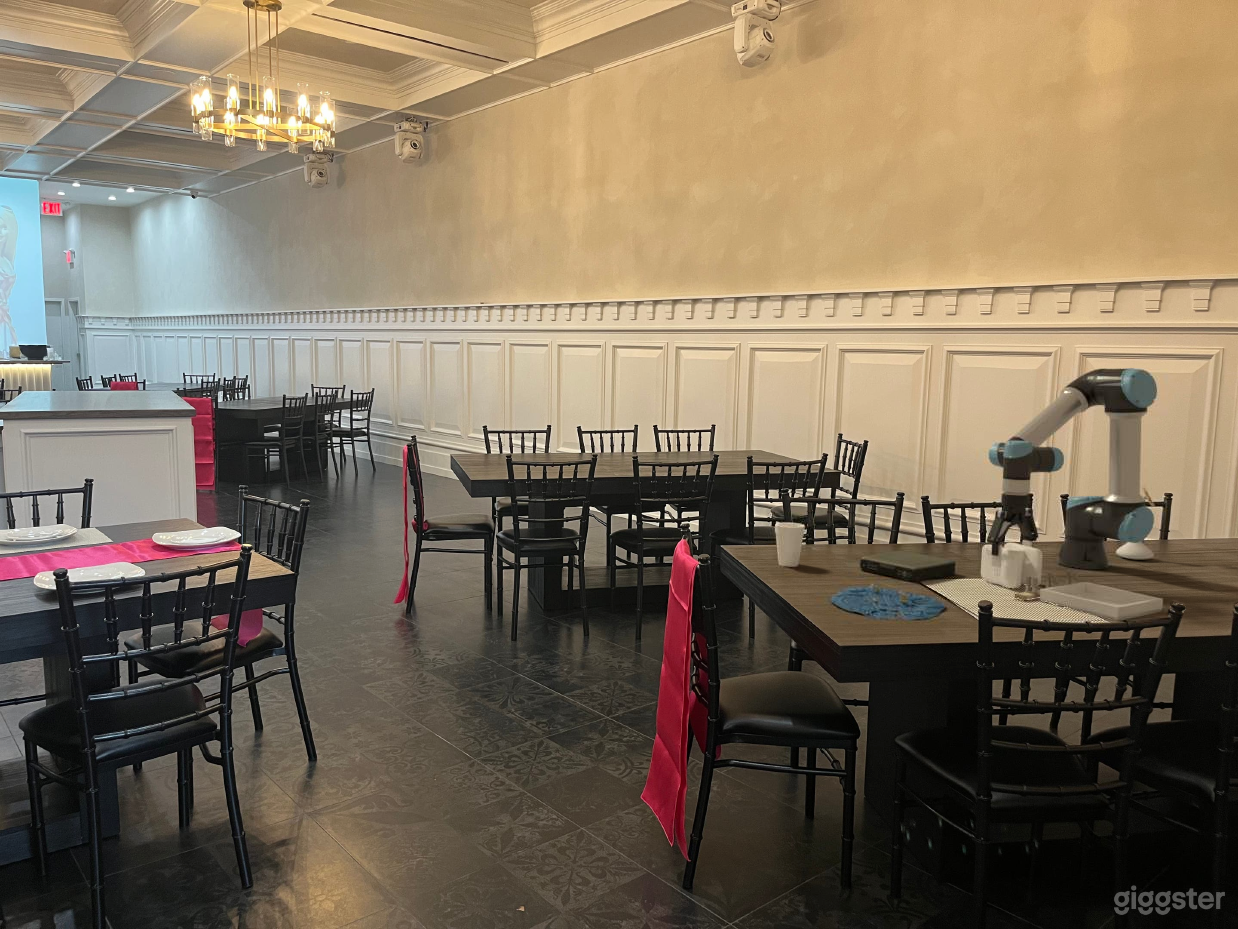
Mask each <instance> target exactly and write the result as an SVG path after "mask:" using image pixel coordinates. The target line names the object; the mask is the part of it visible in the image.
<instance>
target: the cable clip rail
mask: <svg viewBox="0 0 1238 929" xmlns="http://www.w3.org/2000/svg"><path fill="white" fill-rule="evenodd" d="M1052 573H1053V572H1052ZM1052 573H1051V572H1048V573H1046V579H1045V580H1046V584H1045V587H1044V588H1050V587H1056V586H1059V584H1058V583H1059V574H1057V573H1056V574H1053V575H1052ZM1078 576H1079V571H1072V570H1071V569H1067V570H1066V576H1065V584H1064V585H1068V584H1075V583H1078V578H1079V577H1078ZM1037 583H1038V578H1033V583H1032V587H1031V576H1026V585H1025V590H1024V592H1018V593H1014V599H1015V598H1019V599H1022V600H1027V599H1031V598H1037V597H1040V589H1038V586H1037Z"/></svg>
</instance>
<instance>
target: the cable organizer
mask: <svg viewBox="0 0 1238 929" xmlns="http://www.w3.org/2000/svg"><path fill="white" fill-rule="evenodd" d="M991 552H992V544H985V545H983V546H982V549H981V562H980V564H981V567H980V576H981V578H982V579H983V581H986V580H987V581H990V582H992V583H996V584H995V585H998V584H999V585H1000V586H1001V585H1002V586H1006V587H1008V588H1012V589H1019V588H1020V587H1021V584H1023V583H1024V584H1026V576H1031V586H1032V583H1033V578H1038V583H1037V587H1038V586H1039V585H1041V583H1042V570H1043V553H1042V551H1041V550H1040V549H1039V548H1035V547H1033V546H1032V547H1028V546H1024V545H1023V544H1020V543H1016V542H1006V543H1005V544H1004V546H1002V558H1001V567H996V566H991V564H992V554H991ZM987 581H986V582H987ZM1024 584H1023V585H1024Z"/></svg>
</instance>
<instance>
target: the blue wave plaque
mask: <svg viewBox="0 0 1238 929" xmlns="http://www.w3.org/2000/svg"><path fill="white" fill-rule="evenodd" d="M829 600H830V602H831V603H832V604H833V605H835V606H836V607H838V608H840V609H843V610H845V611H848V612H852V613H853V612H854V613H855V612H856V613H859V614H862V615H863V616H865V617H867V618H870V619H879V620H880V619H881V620H887V621H888V620H889V619H890V620H895V621H897V620H904V621H905V620H907V621H913V620H924V619H925V620H928V619H932V618H933V617H939V616H940V615H941V614H942V613H941V611H943V610H944V609H945V607H946V605H945V604H944V603H943V602H941V601H939V600H938V599H937V598H931V597H929V596H927V595H920V594H917V593H911V592H909V591H904V590H903V591H902V590H900V589H898V590H893V589H886V588H884V587H880V586H878V585H876V584H874V583H871V584H869V586H858V587H848V588H844V589H843V590H840V591H838V592H837V593H835V594H834V595H833V596H831V597H830V599H829ZM897 611H898V612H897ZM899 613H900V614H899ZM896 615H898V617H897V616H896Z"/></svg>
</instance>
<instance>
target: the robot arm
mask: <svg viewBox="0 0 1238 929" xmlns="http://www.w3.org/2000/svg"><path fill="white" fill-rule="evenodd" d="M1157 395H1158V388H1157V383H1156V381H1155V378H1154V376H1153V375H1152V374H1151V373H1150V372H1149V371H1147V370H1145V369H1141V368H1134V367H1133V368H1132V367H1130V368H1097V369H1094V370H1091V371H1088V372H1086V373H1084V374H1082V375H1080V376H1078V377H1076V378H1075V379H1074V380H1072V381H1071V382H1070V383H1068V384H1067V385H1066V386H1065V387H1064V388H1062V389H1061V390H1060V393H1059V396H1058V397H1057V398H1056V399H1055V400H1054V401H1052V402H1051V403H1050V404H1049V405H1048V406H1047V407H1045V408H1044V409H1043V410H1042V411H1041V412H1039V413H1038V414H1037V415H1036V416H1035V417H1034V418H1032V419H1031V420H1030V421H1029V422H1028V423H1027V424H1025V426H1023V427H1022V428H1021V429H1020V430H1019V431H1017V432H1016V433H1015V434H1014V435H1013V436H1011V438H1009V439H1008V440H1007V441H1006V442H1003V441H1002V442H997V443H996V442H995V443H994V444H992V445H991V446H990V448H989V451H988V459H989V462H990V463H991V464H992V465H993V466H995V467H999V468H1002V484H1001V485H1002V486H1001V487H1002V488H1001V491H1002V492H1003V493H1001V499H1000V500H1001V501H1000V502H1001V503H1000V505H1001V506H1002V507H1003V510H998V509H997V510H996V511H995V514H994V518H993V522H992V525H991V528H990V529H989V533H988V534H987V535H988V536H987V538H986V542H987V543H988V544H989V545H992V552H991V554H992V564H991V566H996V567H1001V558H1002V547H1003V545H1002V544H1001V543H1002V541H1003V540H1004V539H1005V537H1006V536H1007V533H1008V532H1009V529H1011V528H1012V527H1013V526H1017V527H1018V529H1019V531H1020V532H1021V534H1022V536H1023V537H1024V539H1022V545H1024V546H1028V547H1032V548H1033V545H1034V543H1033V542H1037V539H1039V533H1038V528H1037V526H1036V521H1035V518H1034V509H1033V508H1031V507H1030V508H1028V507H1029V506H1030V495H1029V494H1030V493H1031V477H1032V476H1031V474H1032V473H1033V474H1034V473H1049V474H1050V473H1054V472H1057V471H1059V470H1061V468H1063V466H1064V463H1065V455H1064V453H1063V451H1062V450H1061V449H1060V448H1058V447H1056V446H1041V445H1043V444H1044V443H1045V442H1046V441H1047V440H1048V439H1050V437H1051V436H1052V437H1053V435H1054V434H1056V432H1058V431H1059V430H1060V429H1061V428H1063V426H1065V425H1066V423H1068V422H1069V421H1070V420H1071V419H1072V418H1074V417H1075V416H1076V415H1077V414H1078V413H1079V414H1082V413H1085V411H1087V410H1088V409H1089V408H1091V407H1095V406H1104V414H1105V415H1106V416H1107V417H1108V418H1109V444H1108V445H1109V448H1108V450H1109V453H1108V456H1109V457H1108V493H1107V494H1106V495H1105V496H1104V495H1086V496H1085V495H1082V496H1080V495H1079V496H1071V497H1069V498H1068V500H1067V503H1066V509H1065V524H1064V525H1065V526H1064V527H1065V529H1064V541H1063V543H1062V546H1061V548H1060V550H1059V553H1058V555H1057V560H1056V562H1057V564H1058V565H1060V564H1061V566H1063V567H1067V568H1072V567H1074V569H1079V568H1080V570H1093V571H1094V570H1095V571H1096V570H1107V569H1109V566H1110V564H1109V563H1110V560H1109V557H1108V553H1107V550H1106V545H1105V539H1109V540H1113V541H1119V542H1122V543H1128V542H1130V543H1137V542H1140V541H1141V542H1142V541H1144V540H1145V539H1146V538H1147V537H1148V535H1150V534H1151V532H1152V530H1153V529H1154V528H1153V527H1154V522H1155V515H1154V512H1153V511H1152V509H1150V508H1149V507H1147V506H1146V499H1145V498H1144V496H1142V494H1141V461H1142V459H1141V457H1142V456H1141V455H1142V454H1141V453H1142V450H1141V448H1142V418H1143V417H1144V416H1145V415H1146V414H1147V413H1148V408H1149V407H1150V406H1152V405H1153V404H1154V402H1155V400H1156V398H1157Z"/></svg>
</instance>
